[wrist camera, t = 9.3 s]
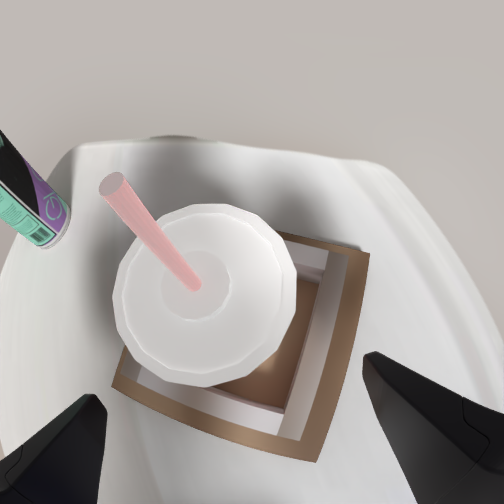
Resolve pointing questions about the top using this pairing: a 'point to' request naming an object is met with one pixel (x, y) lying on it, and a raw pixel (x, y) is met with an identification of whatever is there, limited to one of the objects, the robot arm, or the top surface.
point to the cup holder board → (277, 364)
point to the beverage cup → (200, 289)
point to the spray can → (29, 200)
